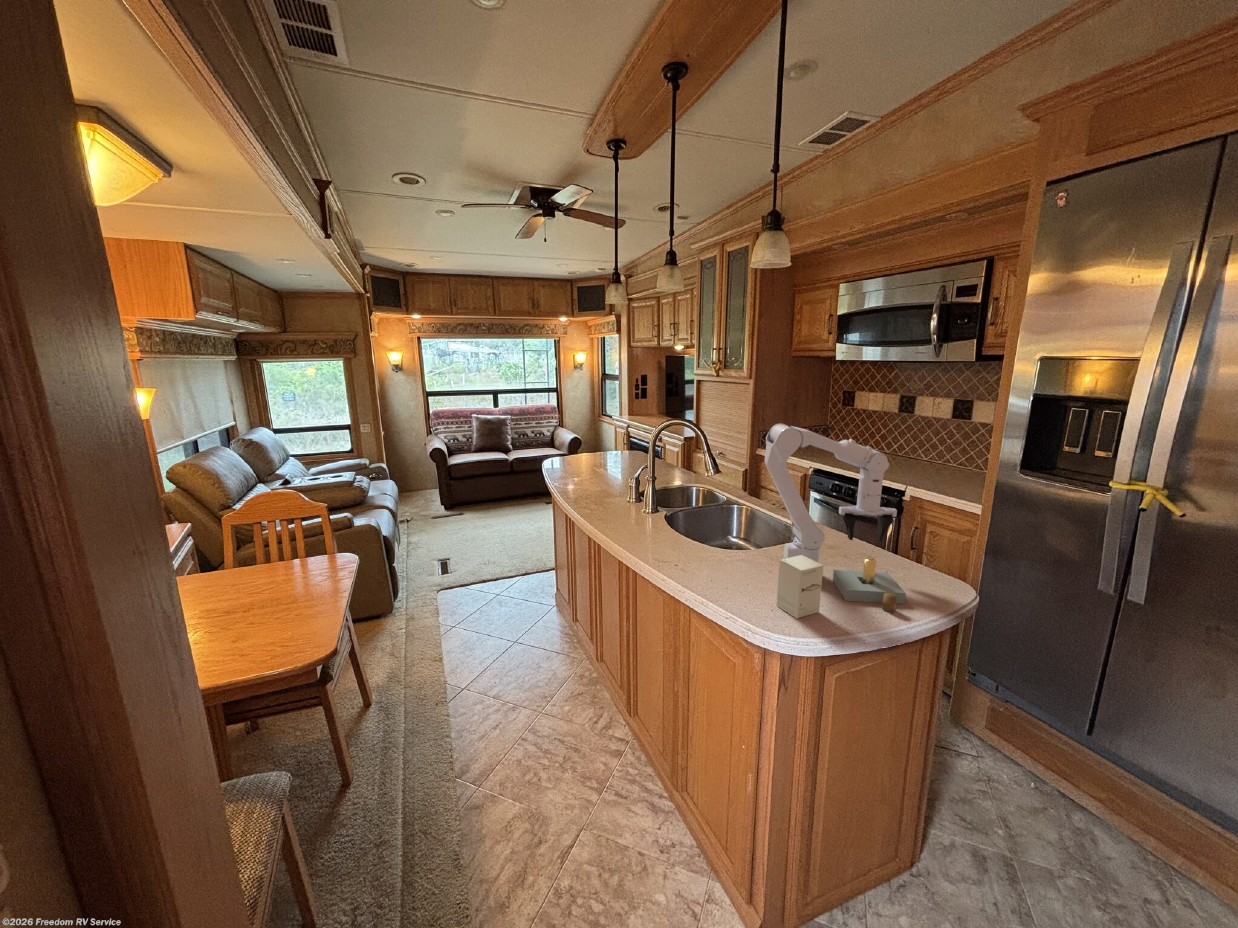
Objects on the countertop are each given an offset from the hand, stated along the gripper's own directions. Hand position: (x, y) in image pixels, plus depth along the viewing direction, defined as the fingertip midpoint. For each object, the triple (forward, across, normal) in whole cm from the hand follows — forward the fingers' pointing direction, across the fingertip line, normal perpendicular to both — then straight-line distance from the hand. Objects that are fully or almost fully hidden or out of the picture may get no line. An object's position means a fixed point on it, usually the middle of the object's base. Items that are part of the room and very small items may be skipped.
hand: (864, 539), depth 137 cm
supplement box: (+11, -22, -23) cm, 34 cm away
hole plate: (+10, -2, -11) cm, 15 cm away
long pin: (+10, -2, -11) cm, 15 cm away
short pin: (+10, 0, -20) cm, 23 cm away
